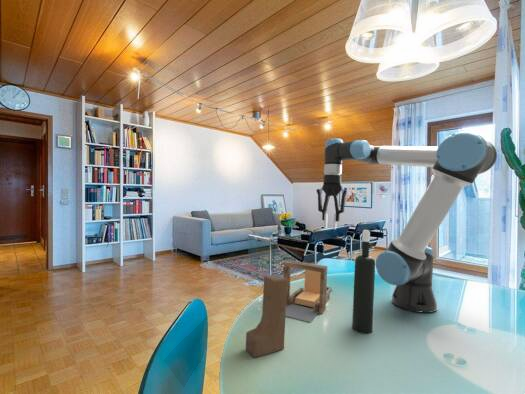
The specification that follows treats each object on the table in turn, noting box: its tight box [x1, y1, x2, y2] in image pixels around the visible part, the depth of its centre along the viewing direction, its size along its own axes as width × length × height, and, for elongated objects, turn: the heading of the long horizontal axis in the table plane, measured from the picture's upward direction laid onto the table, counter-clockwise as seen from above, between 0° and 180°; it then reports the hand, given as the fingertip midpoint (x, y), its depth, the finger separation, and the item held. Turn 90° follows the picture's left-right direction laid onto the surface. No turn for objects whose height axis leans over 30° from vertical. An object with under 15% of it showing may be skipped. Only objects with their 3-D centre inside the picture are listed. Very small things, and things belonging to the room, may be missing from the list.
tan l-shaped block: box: [294, 270, 321, 308], centre depth 108 cm, size 12×7×11 cm, turn 153°
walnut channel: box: [282, 259, 331, 315], centre depth 107 cm, size 16×15×16 cm
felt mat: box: [285, 303, 320, 324], centre depth 96 cm, size 11×12×1 cm
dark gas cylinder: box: [351, 229, 376, 335], centre depth 86 cm, size 6×6×30 cm
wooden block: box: [245, 274, 287, 358], centre depth 72 cm, size 9×4×18 cm, turn 122°
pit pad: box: [326, 286, 333, 293], centre depth 121 cm, size 8×8×1 cm
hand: (330, 228), depth 124 cm, fingers open, 3 cm apart
